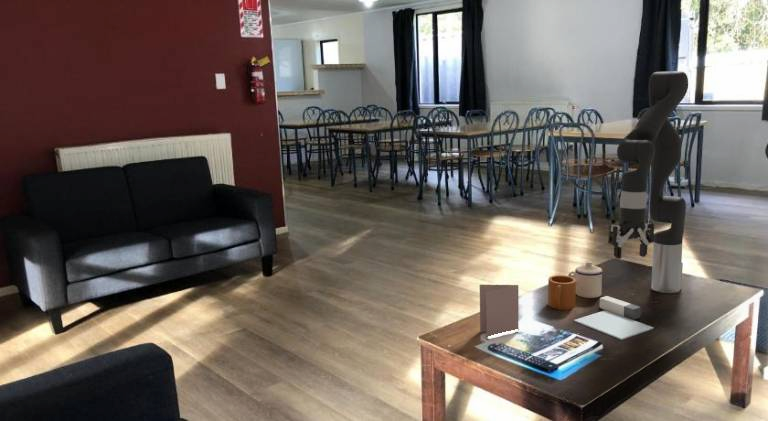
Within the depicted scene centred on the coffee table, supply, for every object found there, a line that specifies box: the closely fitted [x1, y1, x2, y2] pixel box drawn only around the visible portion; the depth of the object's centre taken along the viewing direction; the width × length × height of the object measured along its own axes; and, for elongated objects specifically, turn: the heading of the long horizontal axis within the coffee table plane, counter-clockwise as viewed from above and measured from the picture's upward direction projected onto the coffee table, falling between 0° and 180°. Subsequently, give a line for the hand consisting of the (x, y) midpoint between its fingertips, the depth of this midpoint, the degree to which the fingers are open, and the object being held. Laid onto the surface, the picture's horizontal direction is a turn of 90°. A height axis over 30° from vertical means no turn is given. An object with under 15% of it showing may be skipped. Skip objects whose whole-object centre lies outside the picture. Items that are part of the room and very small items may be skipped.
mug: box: [547, 274, 577, 310], centre depth 210 cm, size 9×12×9 cm
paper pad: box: [573, 309, 654, 341], centre depth 194 cm, size 14×18×1 cm
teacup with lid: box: [567, 261, 603, 299], centre depth 221 cm, size 12×9×12 cm
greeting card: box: [479, 284, 519, 338], centre depth 188 cm, size 11×7×15 cm, turn 80°
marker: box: [599, 295, 642, 321], centre depth 204 cm, size 14×3×3 cm, turn 30°
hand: (630, 257), depth 196 cm, fingers open, 8 cm apart
